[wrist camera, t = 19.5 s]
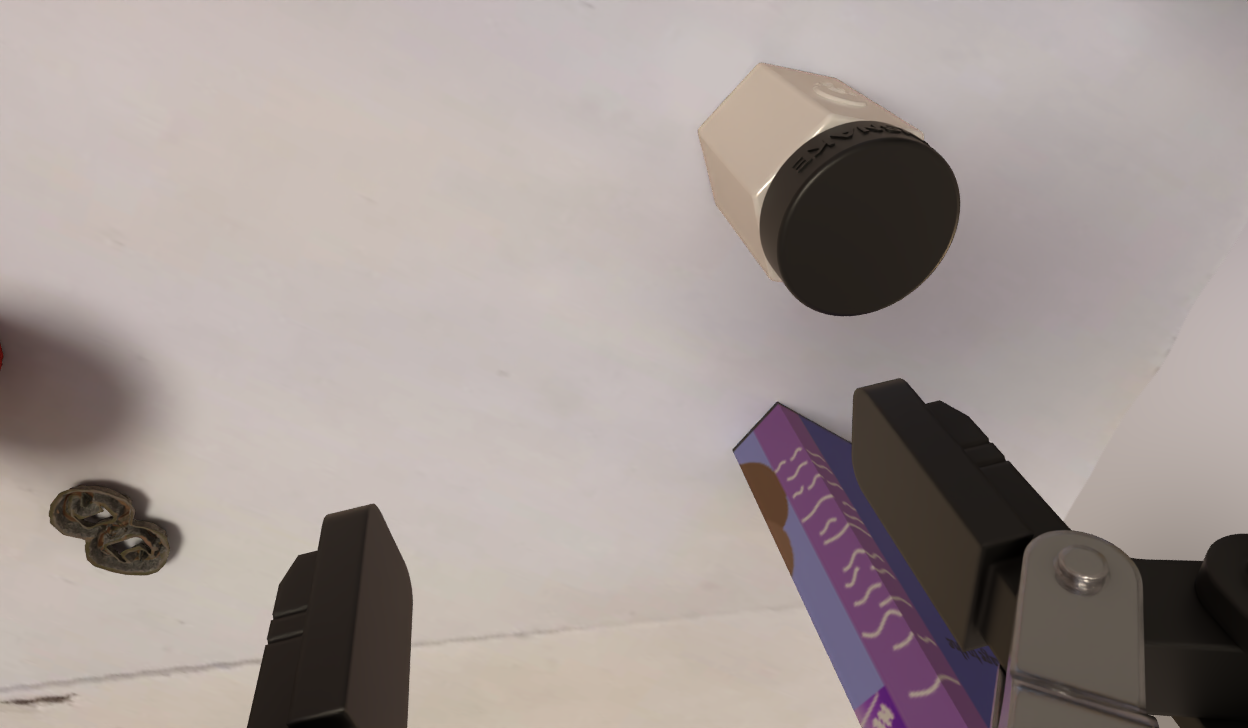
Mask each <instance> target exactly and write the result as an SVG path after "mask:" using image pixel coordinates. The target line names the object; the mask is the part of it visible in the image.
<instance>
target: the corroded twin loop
mask: <svg viewBox="0 0 1248 728" xmlns="http://www.w3.org/2000/svg"><path fill="white" fill-rule="evenodd" d="M101 506H103V507H104V508H105V509H106V510H107V511H108V512H109V513H110V514H111V515H112V516H113V518H109V519H108V518H106V519H104V520H101V521H99V522H98V523H90V522H87V521H84V518H87V517H90V516H93V515H95V514H98V513H100V512H103V511H104V510H103V509H102V508H101ZM134 515H135V509H134V508H133V507H132V500H131V499H130V498H129V497H128V496H127V495H126V494H121V493H117V492H116V491H114V490H112V489H109V488H105V487H101V486H84V485H80V486H77V487H74V488H71V489H69V490H66V491H63V492H61V493H59V494H58V496H57V497H56V498H55V500H54V501H53V502H52V504H51V505H50V511H49V517H50V523H51V524H52V525H53V526H54V527H55V528H56V529H57V530H58V531H59V532H61V533H62V534H63V535H66V536H71V537H75V538H80V539H83V540H85V542H86V544H85V552H86V557H87V560H88V561H89V562H90V563H91V564H92V565H93V566H95V567H98V568H101V569H105V570H108V571H111V572H115V573H120V574H125V575H150V574H153V573H156V572H158V571H159V570H160V569H161V568H162V567H163V566H164V565H165V563H166V561H167V558H168V555H169V552H170V547H169V544H168V541H167V534H166V531H165V530H163V529H161V528H159V527H158V526H157V525H156V524H155V523H150V522H147V521H139V520H135V519H133V518H134ZM133 537H139V538H142V539H143V540H144V542H145V543H146V544H147V545H148V546H149V547H150V548H151V549H150V548H149V547H147V546H145V545H144V544H139V545H136V546H134V547H132V548H130V549H126V550H125V551H123V552H121V553H120V554H121V555H120V554H119V553H118V551H116V550H115V549H113V547H112V546H111V545H112V544H115V543H118V542H121V541H124V540H127V539H129V538H133Z"/></svg>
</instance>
